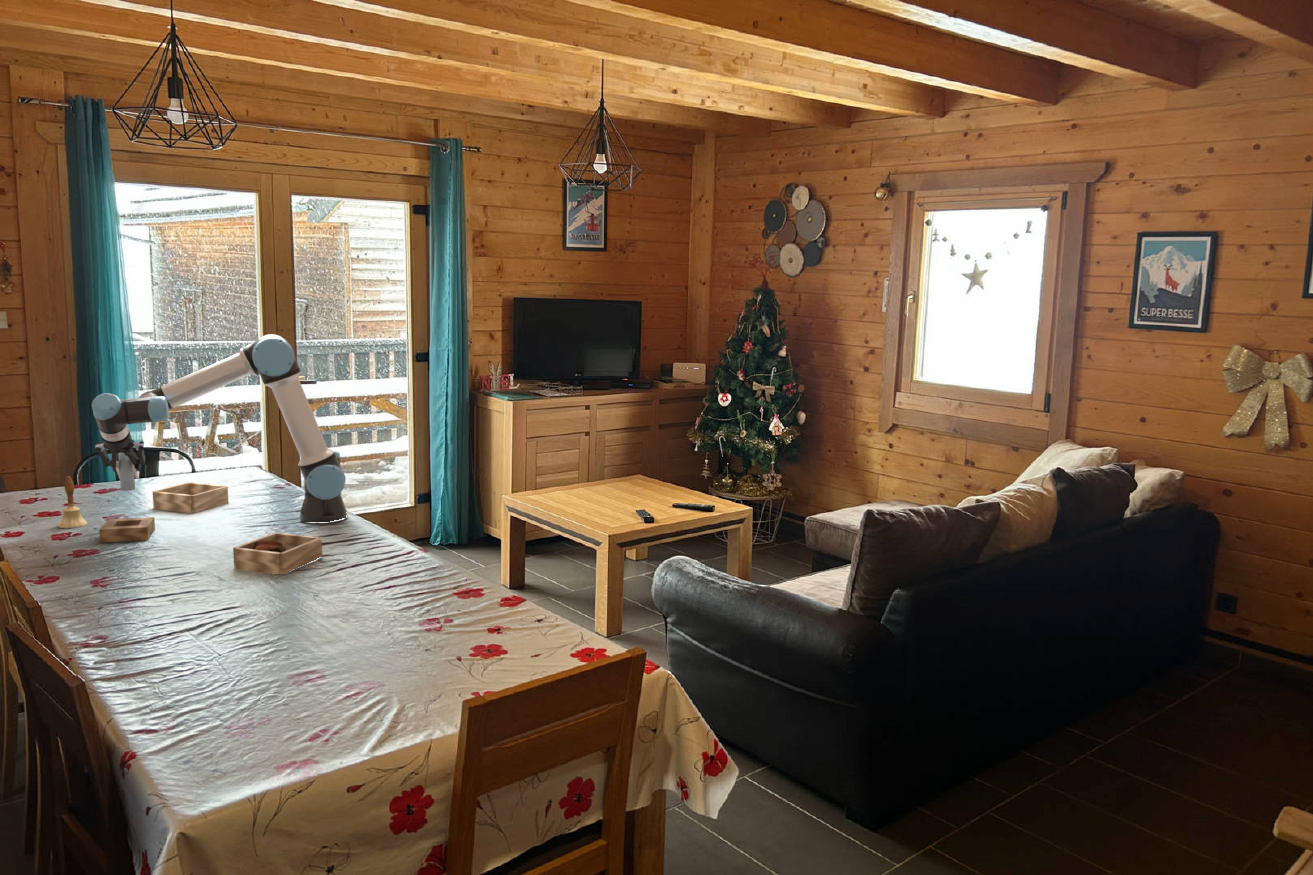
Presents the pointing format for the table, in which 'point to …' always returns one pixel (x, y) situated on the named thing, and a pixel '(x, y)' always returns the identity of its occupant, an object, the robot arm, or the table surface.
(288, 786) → the table surface
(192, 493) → the wooden tray
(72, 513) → the hand bell
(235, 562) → the open wooden box
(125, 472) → the peg
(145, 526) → the socket
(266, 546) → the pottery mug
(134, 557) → the table surface
